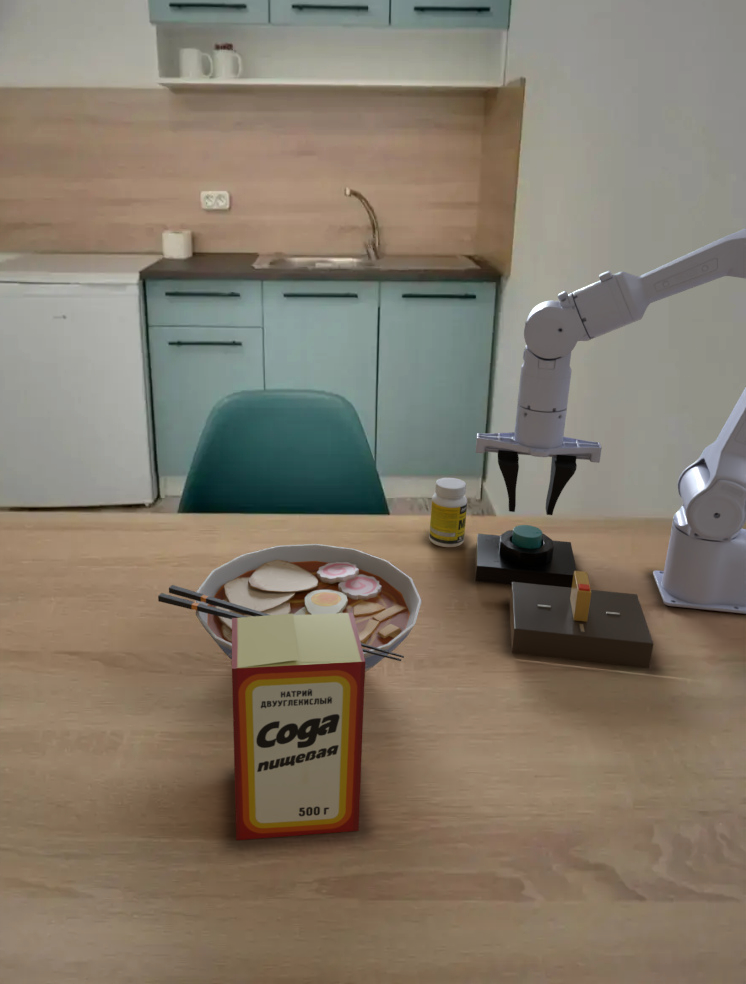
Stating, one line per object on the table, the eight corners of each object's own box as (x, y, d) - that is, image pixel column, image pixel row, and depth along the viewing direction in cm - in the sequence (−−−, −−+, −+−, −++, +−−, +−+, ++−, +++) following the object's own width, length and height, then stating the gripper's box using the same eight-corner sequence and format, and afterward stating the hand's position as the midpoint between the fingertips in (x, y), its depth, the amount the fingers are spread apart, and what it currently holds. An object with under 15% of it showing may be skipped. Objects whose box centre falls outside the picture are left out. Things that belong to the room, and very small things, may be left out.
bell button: (540, 538, 105) (541, 526, 105) (541, 551, 102) (543, 538, 101) (511, 535, 106) (512, 523, 105) (512, 548, 102) (513, 536, 102)
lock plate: (633, 616, 95) (637, 592, 94) (649, 668, 86) (653, 642, 85) (509, 603, 97) (511, 580, 96) (511, 652, 88) (514, 627, 87)
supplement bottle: (462, 550, 109) (467, 491, 107) (427, 546, 110) (431, 488, 107) (465, 534, 114) (469, 477, 111) (430, 530, 115) (434, 474, 112)
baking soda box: (347, 771, 71) (353, 608, 65) (358, 830, 65) (365, 657, 59) (235, 778, 70) (231, 614, 64) (236, 840, 64) (231, 664, 58)
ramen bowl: (456, 632, 91) (462, 566, 88) (376, 765, 72) (380, 685, 69) (259, 580, 101) (258, 519, 98) (141, 684, 81) (135, 612, 78)
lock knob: (570, 598, 92) (574, 568, 91) (582, 600, 92) (587, 569, 91) (573, 620, 88) (578, 588, 87) (587, 622, 88) (591, 590, 87)
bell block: (568, 557, 108) (572, 529, 107) (575, 591, 100) (579, 562, 99) (476, 548, 110) (478, 520, 109) (475, 581, 102) (477, 552, 100)
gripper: (479, 410, 95) (470, 518, 100) (610, 420, 93) (594, 529, 97) (480, 393, 101) (471, 495, 106) (602, 401, 99) (587, 505, 104)
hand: (530, 510), depth 102 cm, fingers open, 4 cm apart
